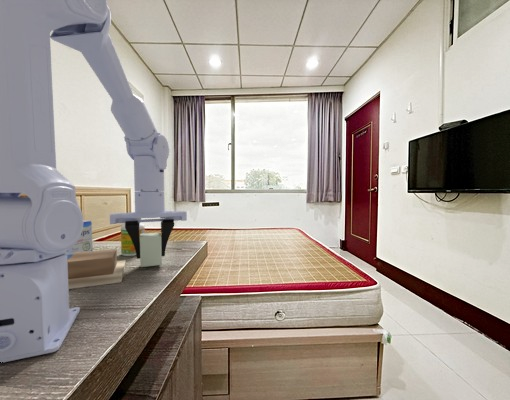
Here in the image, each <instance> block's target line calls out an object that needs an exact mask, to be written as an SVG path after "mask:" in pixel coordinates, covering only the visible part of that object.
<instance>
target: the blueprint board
mask: <svg viewBox="0 0 510 400" xmlns="http://www.w3.org/2000/svg"><path fill="white" fill-rule="evenodd" d="M117 250H118V249H117V248H110V249H100V250H93V251H87V252H76V253H74V254H73V255H72V256H71V257H70V258H69V259H68V260H67V262H68V289H69V290H71V289H72V290H73V289H80V288H86V287H94V286H95V287H96V286H101V285H103V286H104V285H108V284H110V285H111V284H117V283H122V281H123V278H124V274H125V270H126V265H127V260H126V259H123V260H118V254H117V253H118V251H117Z"/></svg>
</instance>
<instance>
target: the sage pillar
mask: <svg viewBox="0 0 510 400" xmlns="http://www.w3.org/2000/svg"><path fill="white" fill-rule="evenodd" d="M162 259H163V256H162V247H161V232H151V233H149V232H148V233H145V234H140V259H139V260H140V261H139V263H140V264H139V265H140V268H143V267H144V268H146V267H154V266H161V265H163V264H162V263H163V261H162Z"/></svg>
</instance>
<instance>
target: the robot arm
mask: <svg viewBox="0 0 510 400" xmlns="http://www.w3.org/2000/svg"><path fill="white" fill-rule="evenodd" d="M111 24H112V12H111V10H110V7H109V6H108V1H107V0H0V362H1V363H0V364H3V363H7V362H12V361H17V360H21V359H27V358H31V357H37V356H41V355H47V354H52V353H55V352H56V351H58V350H59V349H60V348H61V346H62V344H63V343H64V340H65V338H66V337H67V335H68V333H69V331H70V329H71V328H72V326H73V324H74V322H75V320H76V319H77V317H78V315H79V313H80V311H81V308H80V307H79V306H77V307H76V306H75V307H70V294H69V292H70V291H69V290H70V289H68V262H67V253H69V252H72V247H73V246H74V245H75V244H76V242H77V241H78V239H79V238H80V236H81V233H82V230H83V220H84V216H83V212H82V209H81V208H80V205H79V204H78V200H77V195H76V186H75V185H74V184H73V183H72V182H71V181H70V180H69V179H68V178H67V177H65V176H64V174H62V173H61V172H59V171H58V169H57V160H56V159H57V156H56V154H57V153H56V135H55V112H54V95H53V92H54V91H53V90H54V89H53V72H52V70H53V69H52V50H51V40H53V41H54V42H56V43H59V44H62V46H63V45H64V46H66V47H68V48H70V49H73V50H76V51H78V52H80V54H81V55H82V56H83V57H84V59H85V61H86V63H88V65H89V67H90V68H91V69H92V71H93V73H94V74H95V76H96V77H97V78H98V81H99V82H100V83H101V86H103V88H104V90H105V91H106V92H107V93H108V95H109V98H111V100H112V103H111V106H110V112H111V114H112V115H113V117H114V119H115V120H116V122H117V124H118V126H119V127H120V129H121V131H122V133H123V134H124V136H123V138H124V141H125V145H126V151H127V155H128V156H129V157H130V159H131V160H132V161H133V175H134V176H133V177H134V178H133V184H134V212H120V213H119V212H118V213H110V214H109V225H116V224H125V229H126V231H127V232H128V234H129V236H130V238H131V240H132V242H133V245H134V247H135V251H136V259H137V260H140V234H139V222H141V223H153V222H154V223H155V222H160V233H161V247H162V257H165V256H166V249H167V245H168V241H169V238H170V236H171V233H172V231H173V229H174V227H175V221H182V222H185V221H187V218H188V215H187V211H186V210H180V211H179V210H177V211H176V210H173V211H171V210H167V211H166V209H165V207H166V206H165V205H166V204H165V170H166V169H167V165H168V158H169V155H170V148H169V142H168V139H167V138H166V137H165V135H163V134H162V133H160V132H158V130H157V127H156V126H155V124H154V121H153V119H152V117H151V115H150V113H149V110H148V108H147V106H146V104H145V102H144V100H143V99H142V98H141V97H139V96H137V95H135V94H134V93H133V91H132V87H131V86H130V84H129V80H128V78H127V75H126V74H125V71H124V69H123V66H122V63H121V61H120V58H119V56H118V53H117V51H116V48H115V46H114V43H113V41H112V37H111V35H110V29H111ZM22 194H23V195H25V196H21V195H22ZM140 218H141V220H138V219H140ZM2 362H3V363H2Z"/></svg>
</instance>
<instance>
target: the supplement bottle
mask: <svg viewBox="0 0 510 400" xmlns="http://www.w3.org/2000/svg"><path fill="white" fill-rule="evenodd" d="M138 220H142V218H140V219H138ZM139 234H146V230H145V224H144V223H143V222H139ZM120 249H121V250H120V253H121V255H122V256H123V257H134V256H136V257H137V255H136V251H135V247H134V245H133V242H132V240H131V238H130V236H129V234H128V232H127V231H126V229H125V223H122V225H121V226H120Z"/></svg>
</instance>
